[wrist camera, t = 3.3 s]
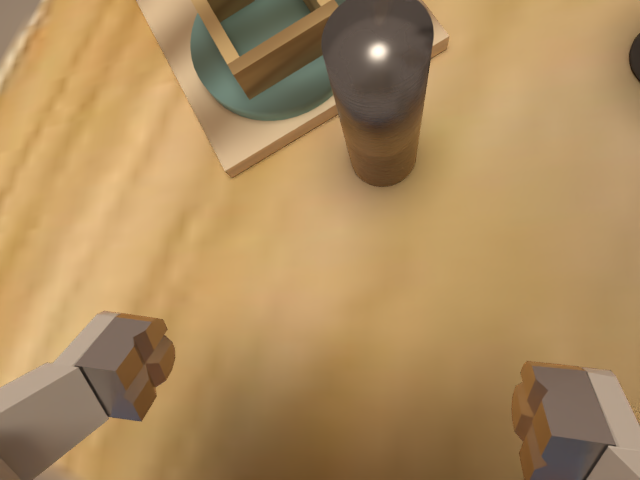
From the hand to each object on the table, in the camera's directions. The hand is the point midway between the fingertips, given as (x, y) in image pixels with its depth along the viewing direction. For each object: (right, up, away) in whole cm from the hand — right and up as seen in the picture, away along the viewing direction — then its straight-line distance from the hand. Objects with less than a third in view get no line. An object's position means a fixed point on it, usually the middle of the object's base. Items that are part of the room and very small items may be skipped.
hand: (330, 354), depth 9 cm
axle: (+4, +8, +16) cm, 18 cm away
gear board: (-4, +19, +19) cm, 28 cm away
